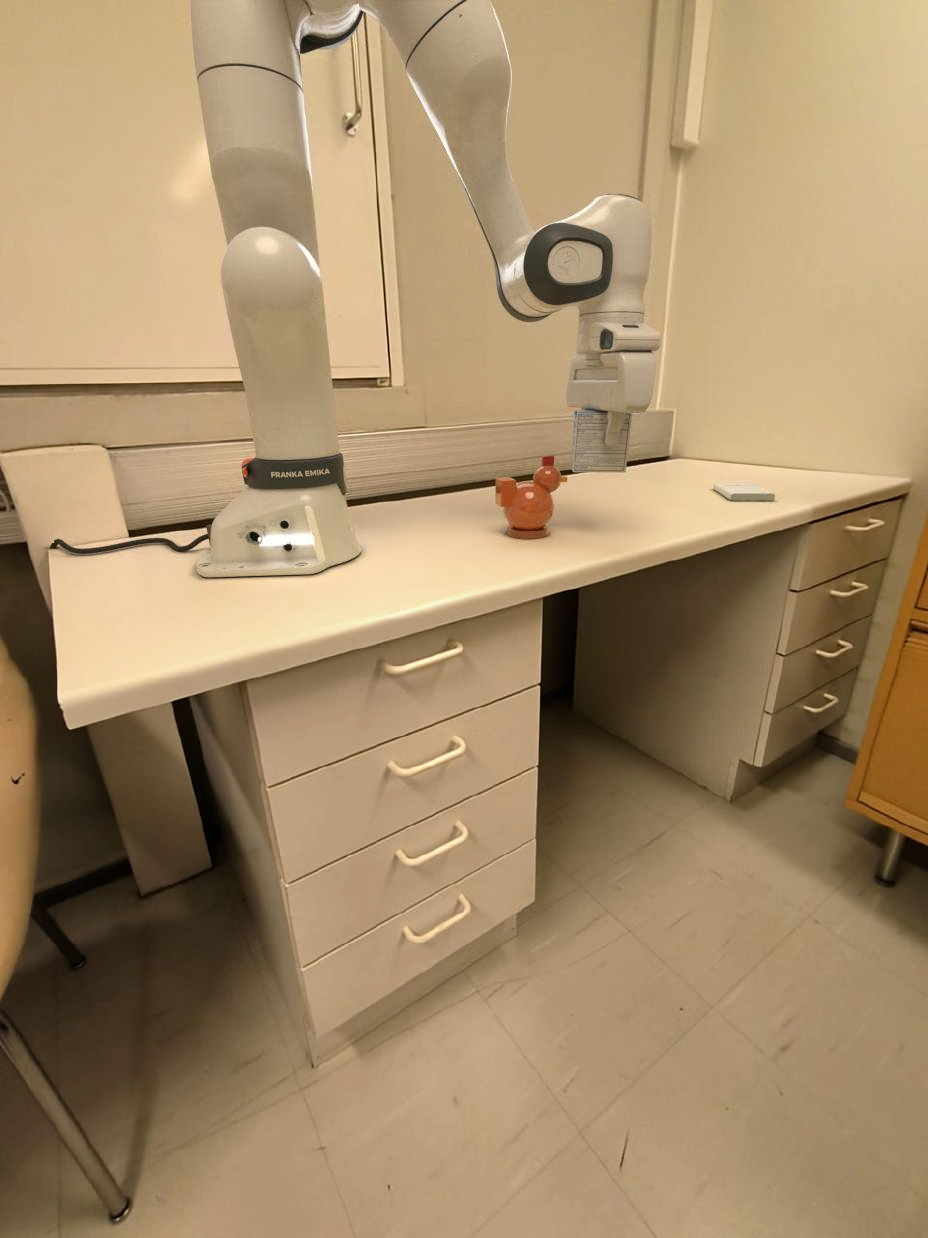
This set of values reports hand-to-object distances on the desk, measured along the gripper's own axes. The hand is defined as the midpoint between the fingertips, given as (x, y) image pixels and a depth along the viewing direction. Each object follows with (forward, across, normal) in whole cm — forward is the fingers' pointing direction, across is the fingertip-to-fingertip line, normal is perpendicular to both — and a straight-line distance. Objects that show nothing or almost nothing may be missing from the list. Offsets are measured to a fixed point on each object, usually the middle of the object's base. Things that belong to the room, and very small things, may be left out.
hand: (599, 442), depth 84 cm
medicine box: (+4, 0, 0) cm, 4 cm away
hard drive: (+14, -20, +43) cm, 49 cm away
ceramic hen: (+14, -4, -9) cm, 18 cm away
